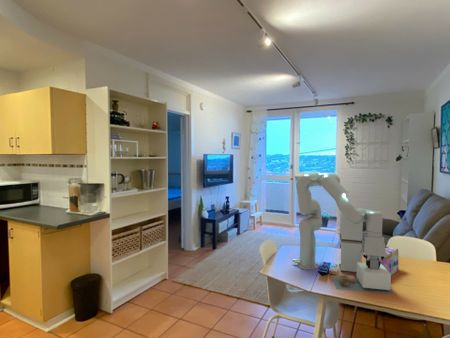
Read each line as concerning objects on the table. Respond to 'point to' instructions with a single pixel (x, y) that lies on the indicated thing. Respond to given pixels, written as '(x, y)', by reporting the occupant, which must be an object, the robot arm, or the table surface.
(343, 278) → the walnut block
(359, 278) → the cover
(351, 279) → the brown egg
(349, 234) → the tall pale grey box
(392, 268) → the gum box
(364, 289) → the board
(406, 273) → the table surface
